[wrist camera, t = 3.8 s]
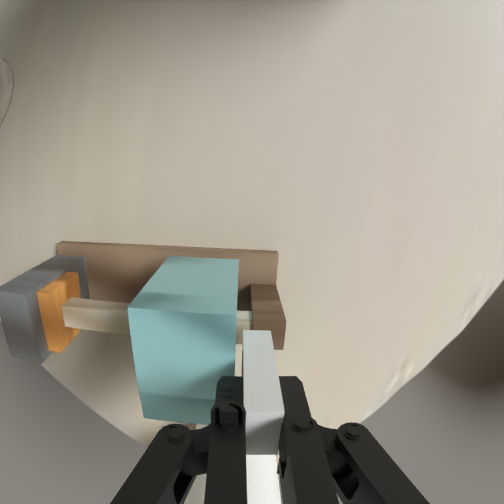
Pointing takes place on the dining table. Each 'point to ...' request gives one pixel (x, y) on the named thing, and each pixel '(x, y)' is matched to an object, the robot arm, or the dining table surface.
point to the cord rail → (120, 293)
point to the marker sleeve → (184, 337)
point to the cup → (258, 481)
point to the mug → (5, 88)
